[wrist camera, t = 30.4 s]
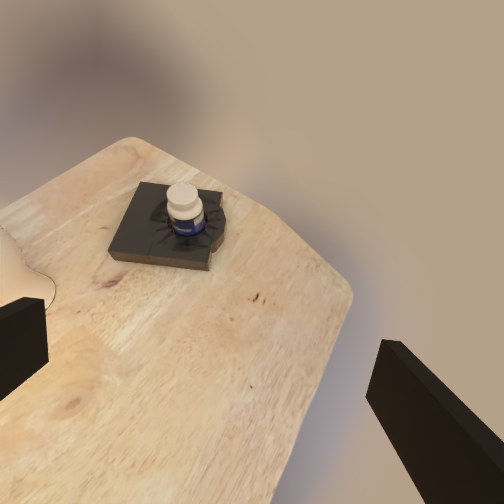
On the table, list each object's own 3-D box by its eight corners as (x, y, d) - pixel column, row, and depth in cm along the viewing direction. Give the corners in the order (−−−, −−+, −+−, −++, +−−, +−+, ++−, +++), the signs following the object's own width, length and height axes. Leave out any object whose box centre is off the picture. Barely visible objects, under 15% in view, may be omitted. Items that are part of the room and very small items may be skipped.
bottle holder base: (230, 203, 50) (230, 193, 47) (218, 272, 42) (218, 264, 39) (144, 192, 49) (140, 181, 47) (114, 260, 41) (107, 250, 38)
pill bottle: (168, 236, 44) (154, 197, 36) (185, 215, 47) (176, 174, 39) (195, 248, 44) (188, 211, 35) (211, 225, 47) (207, 187, 38)
